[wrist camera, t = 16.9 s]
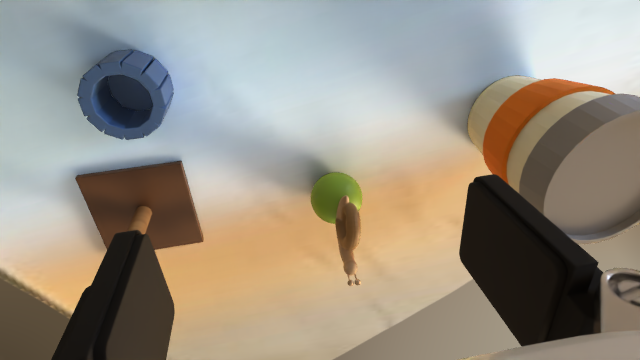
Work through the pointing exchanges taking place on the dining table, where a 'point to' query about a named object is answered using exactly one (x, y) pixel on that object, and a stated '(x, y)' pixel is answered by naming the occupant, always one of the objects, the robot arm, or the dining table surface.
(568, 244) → the robot arm
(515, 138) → the reusable coffee cup
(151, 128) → the blue ring
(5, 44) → the dining table surface
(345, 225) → the snail figurine
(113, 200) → the dowel stand
